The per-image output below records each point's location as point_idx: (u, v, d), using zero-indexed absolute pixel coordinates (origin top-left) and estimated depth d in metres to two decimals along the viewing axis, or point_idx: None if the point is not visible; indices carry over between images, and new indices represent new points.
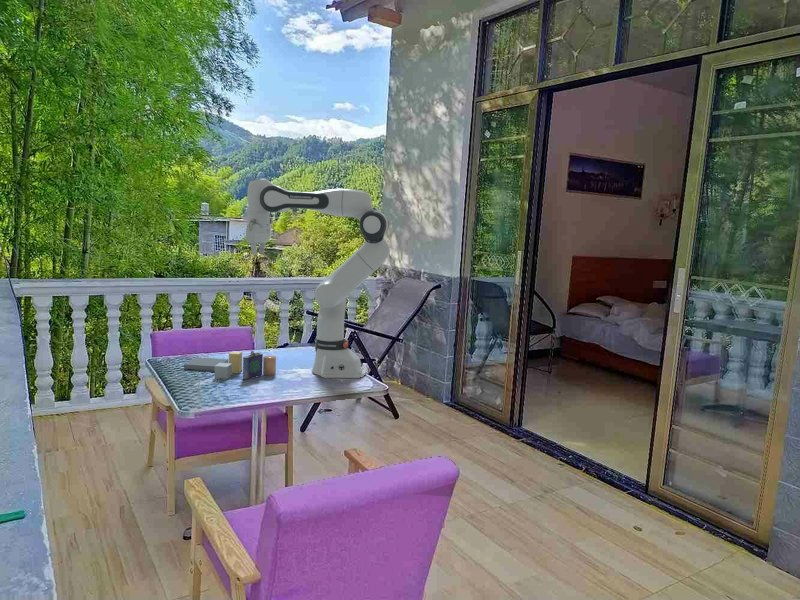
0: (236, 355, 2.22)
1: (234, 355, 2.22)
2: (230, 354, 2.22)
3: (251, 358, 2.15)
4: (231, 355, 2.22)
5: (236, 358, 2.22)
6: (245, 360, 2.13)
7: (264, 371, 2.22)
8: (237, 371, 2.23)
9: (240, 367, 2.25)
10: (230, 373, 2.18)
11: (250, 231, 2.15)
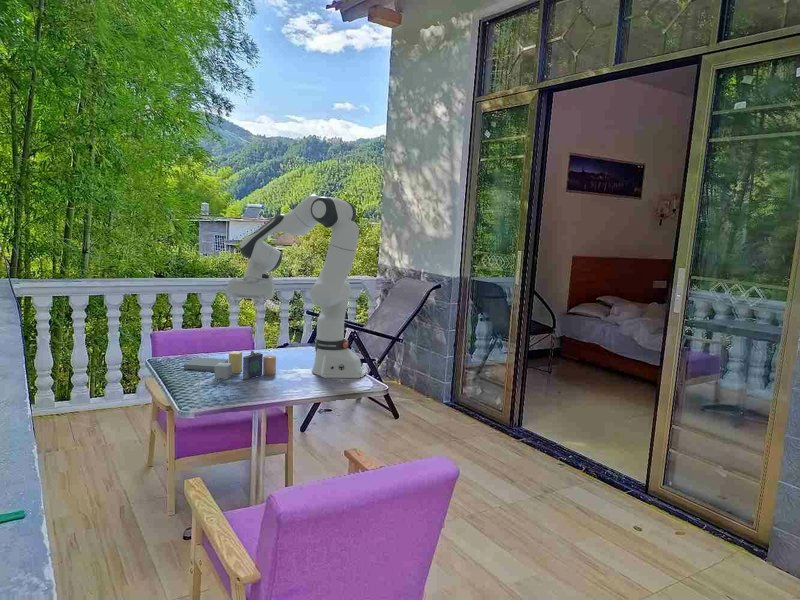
0: (236, 355, 2.22)
1: (234, 355, 2.22)
2: (230, 354, 2.22)
3: (251, 358, 2.15)
4: (231, 355, 2.22)
5: (236, 358, 2.22)
6: (245, 360, 2.13)
7: (264, 371, 2.22)
8: (237, 371, 2.23)
9: (240, 367, 2.25)
10: (230, 373, 2.18)
11: None
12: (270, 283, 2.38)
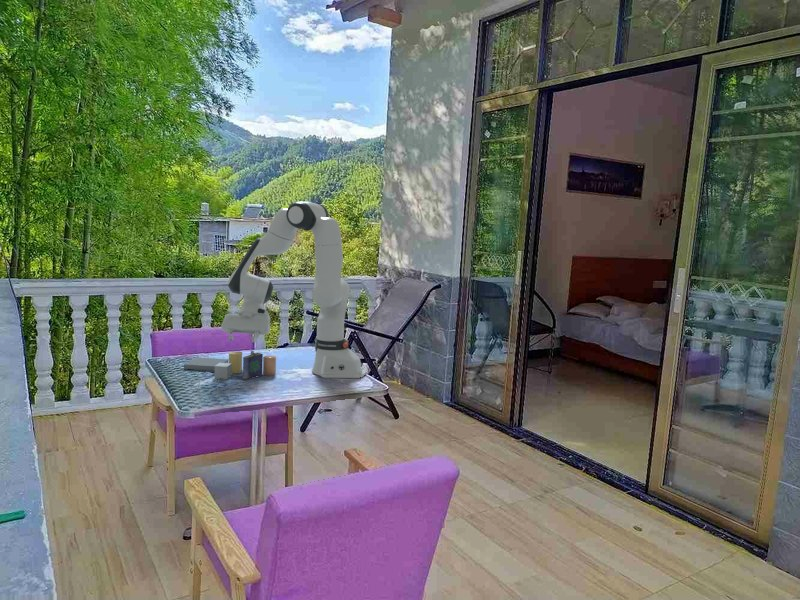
0: (236, 355, 2.22)
1: (234, 355, 2.22)
2: (230, 354, 2.22)
3: (251, 358, 2.15)
4: (231, 355, 2.22)
5: (236, 358, 2.22)
6: (245, 360, 2.13)
7: (264, 371, 2.22)
8: (237, 371, 2.23)
9: (240, 367, 2.25)
10: (230, 373, 2.18)
11: None
12: (266, 318, 2.34)
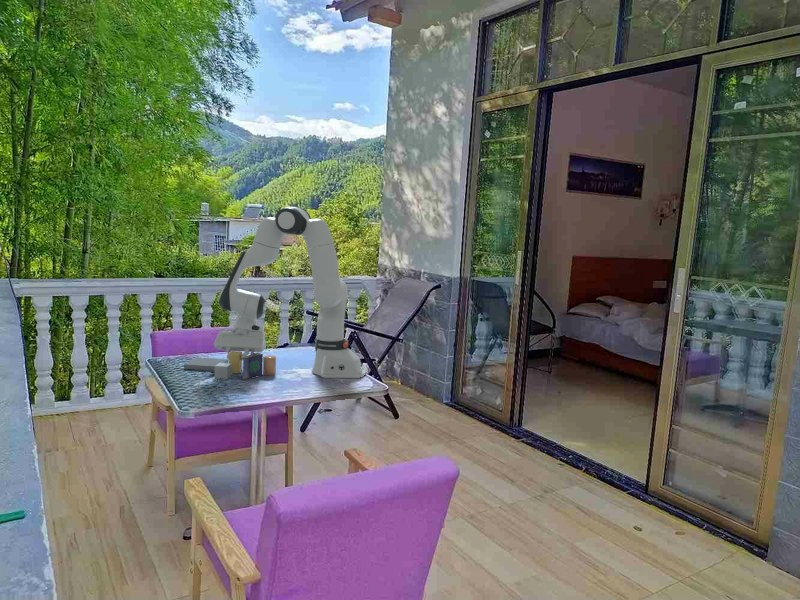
0: (236, 355, 2.22)
1: (234, 355, 2.22)
2: (230, 354, 2.22)
3: (251, 358, 2.15)
4: (231, 355, 2.22)
5: (236, 358, 2.22)
6: (245, 360, 2.13)
7: (264, 371, 2.22)
8: (237, 371, 2.23)
9: (240, 367, 2.25)
10: (230, 373, 2.18)
11: None
12: (260, 335, 2.28)
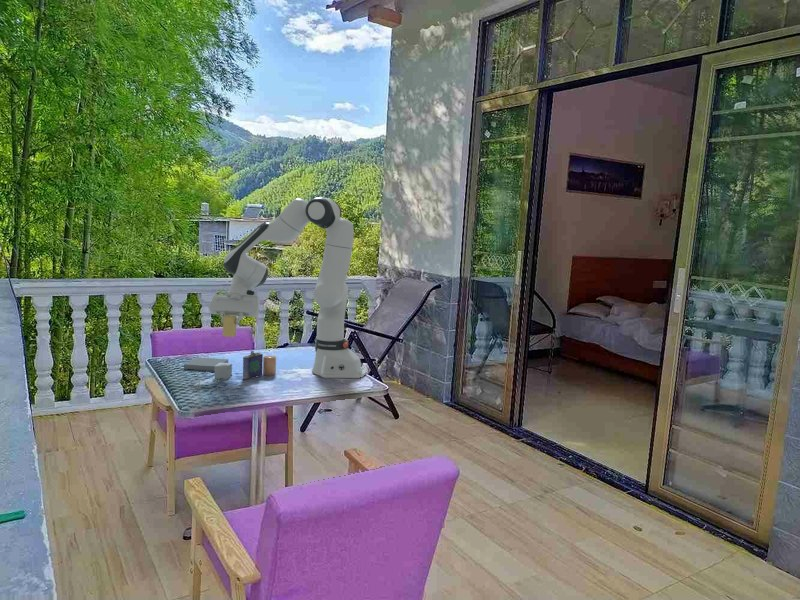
0: (230, 319, 2.21)
1: (228, 319, 2.21)
2: (224, 317, 2.21)
3: (251, 358, 2.15)
4: (225, 318, 2.21)
5: (231, 322, 2.21)
6: (245, 360, 2.13)
7: (264, 371, 2.22)
8: (231, 335, 2.21)
9: (234, 331, 2.23)
10: (230, 373, 2.18)
11: None
12: (255, 300, 2.27)
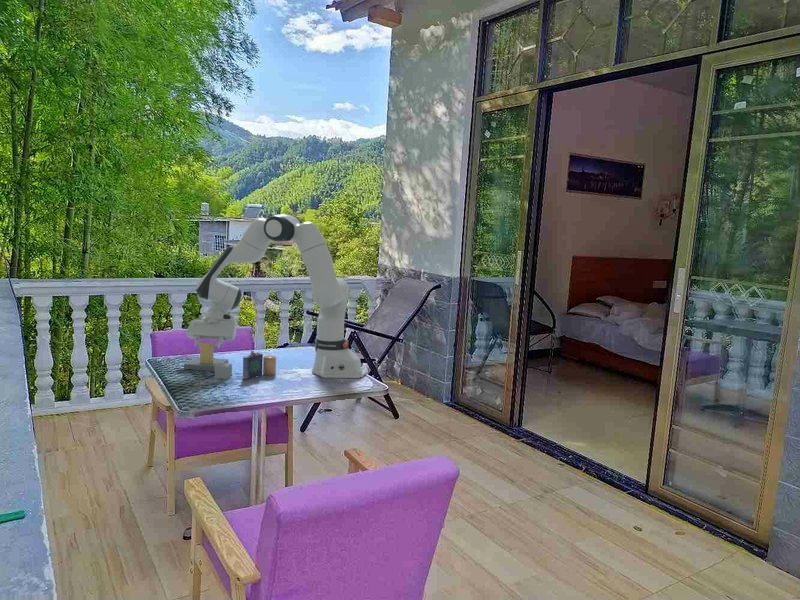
0: (207, 345, 2.27)
1: (205, 345, 2.27)
2: (201, 344, 2.27)
3: (251, 358, 2.15)
4: (202, 345, 2.27)
5: (207, 348, 2.27)
6: (245, 360, 2.13)
7: (264, 371, 2.22)
8: (208, 361, 2.28)
9: (211, 357, 2.30)
10: (230, 373, 2.18)
11: None
12: (231, 324, 2.33)
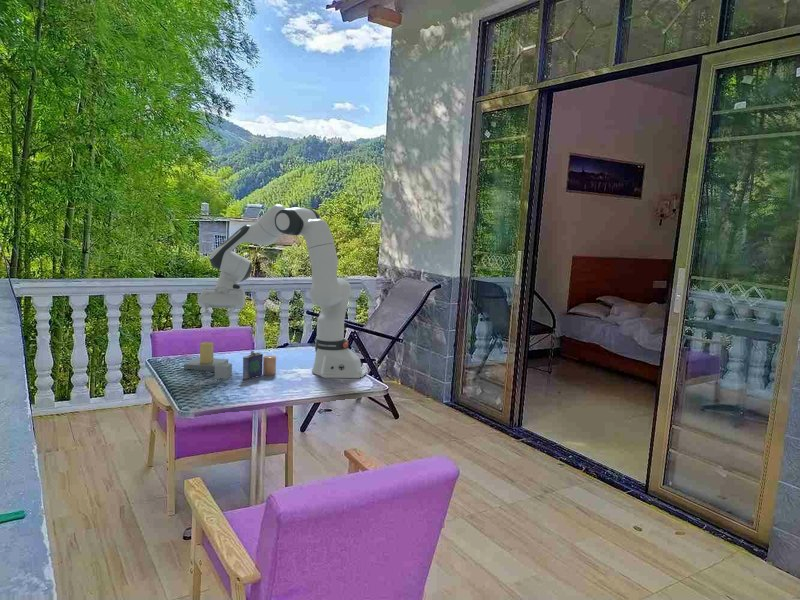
0: (207, 345, 2.27)
1: (205, 345, 2.27)
2: (201, 344, 2.27)
3: (251, 358, 2.15)
4: (202, 345, 2.27)
5: (207, 348, 2.27)
6: (245, 360, 2.13)
7: (264, 371, 2.22)
8: (208, 361, 2.28)
9: (211, 357, 2.30)
10: (230, 373, 2.18)
11: None
12: (241, 293, 2.43)
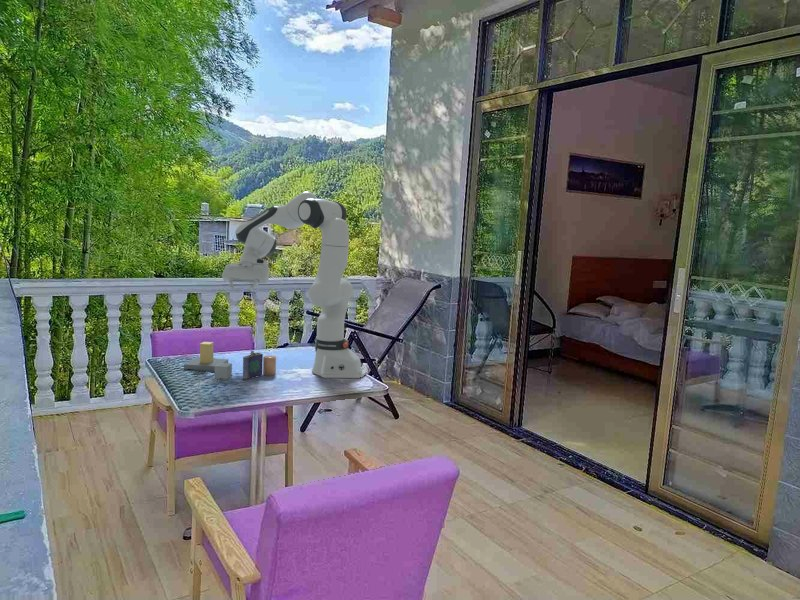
0: (207, 345, 2.27)
1: (205, 345, 2.27)
2: (201, 344, 2.27)
3: (251, 358, 2.15)
4: (202, 345, 2.27)
5: (207, 348, 2.27)
6: (245, 360, 2.13)
7: (264, 371, 2.22)
8: (208, 361, 2.28)
9: (211, 357, 2.30)
10: (230, 373, 2.18)
11: None
12: (265, 267, 2.46)
